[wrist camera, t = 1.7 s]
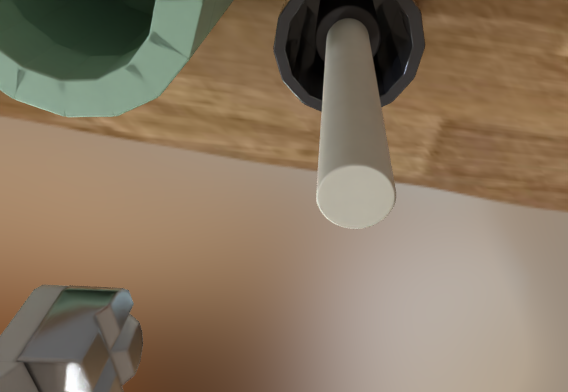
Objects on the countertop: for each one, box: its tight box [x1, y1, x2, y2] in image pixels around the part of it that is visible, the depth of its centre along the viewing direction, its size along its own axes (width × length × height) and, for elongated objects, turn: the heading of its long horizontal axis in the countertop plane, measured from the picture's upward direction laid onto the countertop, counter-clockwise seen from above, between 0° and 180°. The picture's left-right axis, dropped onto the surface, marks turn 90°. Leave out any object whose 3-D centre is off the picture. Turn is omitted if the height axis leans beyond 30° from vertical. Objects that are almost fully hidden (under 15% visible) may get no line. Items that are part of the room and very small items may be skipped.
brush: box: [315, 0, 396, 229], centre depth 18 cm, size 3×3×17 cm
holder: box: [273, 0, 425, 112], centre depth 23 cm, size 6×6×7 cm
